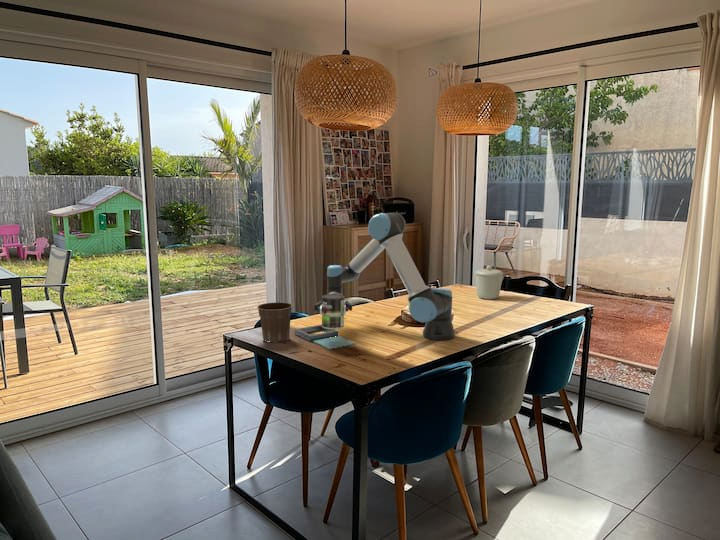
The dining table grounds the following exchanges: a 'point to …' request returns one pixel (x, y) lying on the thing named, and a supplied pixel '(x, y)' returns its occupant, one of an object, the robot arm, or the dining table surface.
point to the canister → (488, 282)
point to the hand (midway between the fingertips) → (332, 311)
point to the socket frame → (303, 333)
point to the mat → (334, 342)
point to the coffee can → (333, 311)
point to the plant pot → (275, 321)
